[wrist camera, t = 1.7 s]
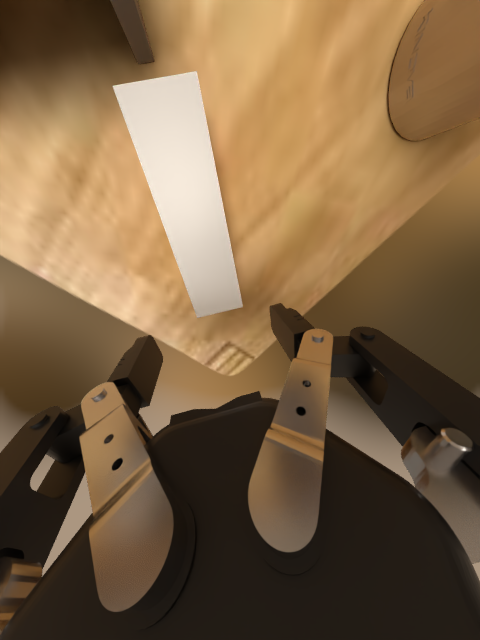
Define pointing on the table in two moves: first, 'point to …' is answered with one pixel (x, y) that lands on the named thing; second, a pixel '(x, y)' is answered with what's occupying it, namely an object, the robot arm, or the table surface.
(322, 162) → the table surface
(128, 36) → the shelf
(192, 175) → the long white plank
